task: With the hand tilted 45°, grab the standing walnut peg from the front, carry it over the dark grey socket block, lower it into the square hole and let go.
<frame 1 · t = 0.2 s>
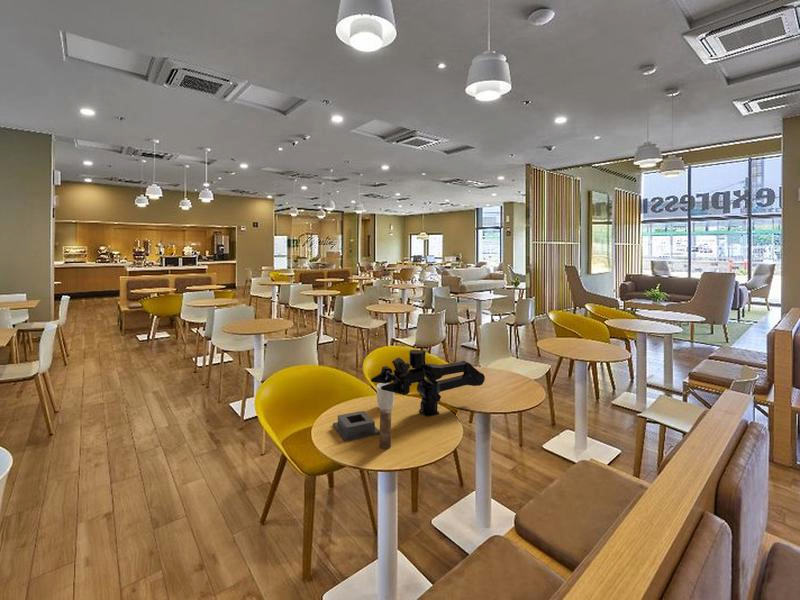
hand: (375, 384, 161), 17 cm above the table, tool horizontal, fingers open, 9 cm apart
peg: (385, 446, 147), on the table
socket: (355, 429, 159), on the table
white cup: (385, 408, 179), on the table
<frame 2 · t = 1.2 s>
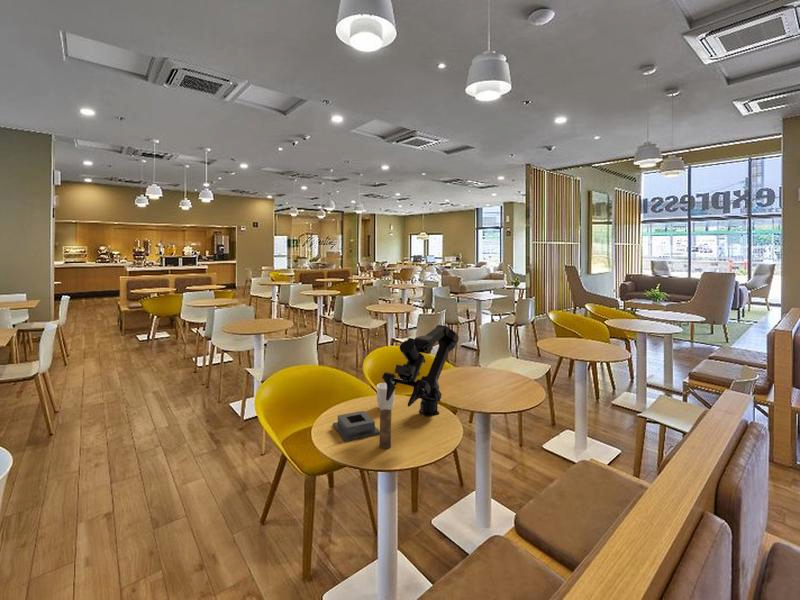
hand: (397, 403, 151), 13 cm above the table, tool tilted 45°, fingers open, 9 cm apart
nothing on the table moved.
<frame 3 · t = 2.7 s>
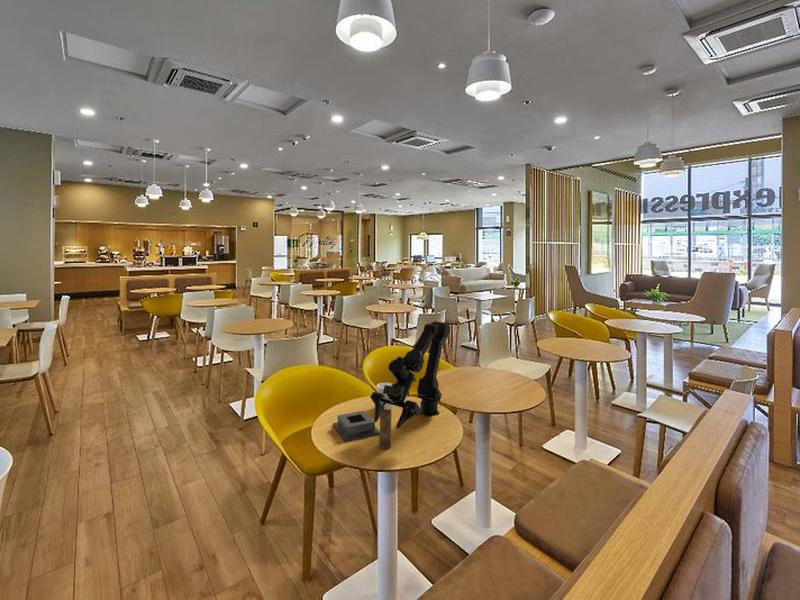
hand: (385, 425, 146), 8 cm above the table, tool tilted 45°, fingers open, 9 cm apart
nothing on the table moved.
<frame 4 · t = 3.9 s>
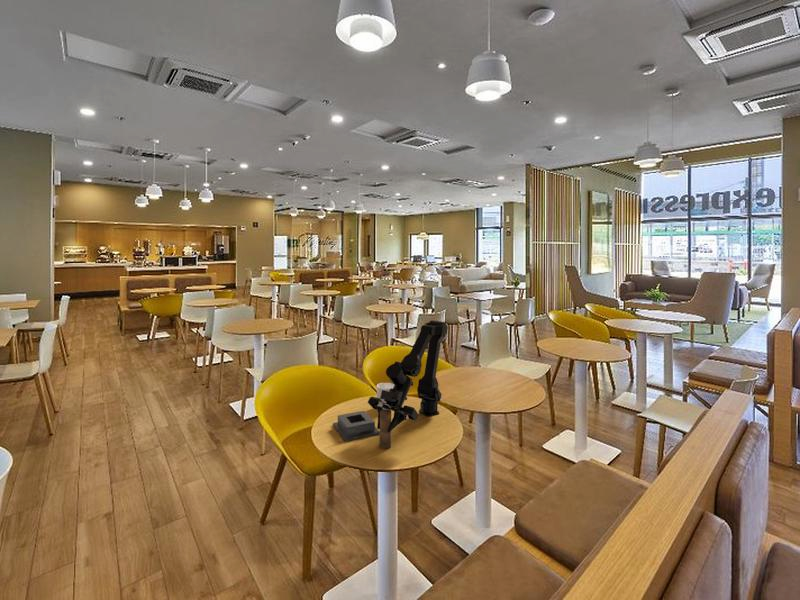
hand: (383, 430, 144), 7 cm above the table, tool tilted 45°, fingers closed on peg, 4 cm apart
peg: (385, 446, 147), on the table, touching gripper
everything else where it was.
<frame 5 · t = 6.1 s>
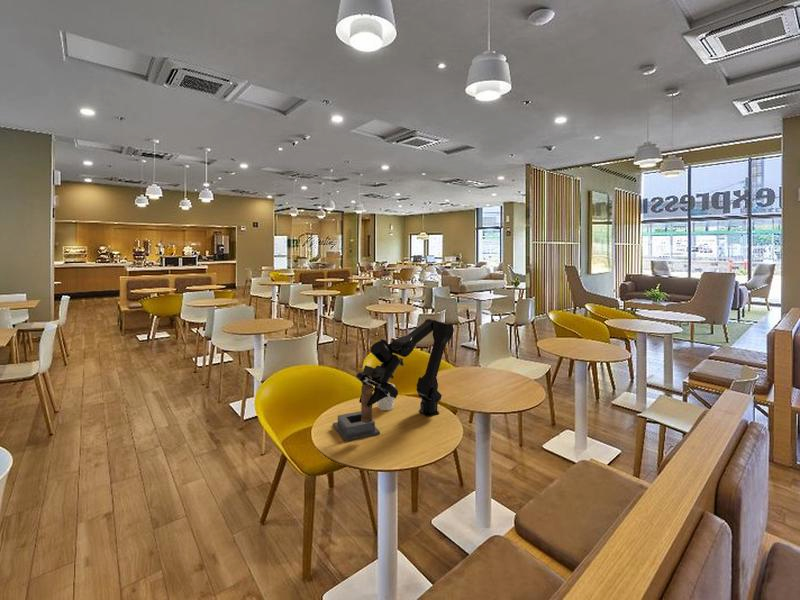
hand: (363, 404, 149), 14 cm above the table, tool tilted 45°, fingers closed on peg, 4 cm apart
peg: (366, 420, 151), point 7 cm above the table, touching gripper
everything else where it was.
when the fingers open (9 cm above the table, at t = 8.2 s): peg drops 1 cm, resting on socket.
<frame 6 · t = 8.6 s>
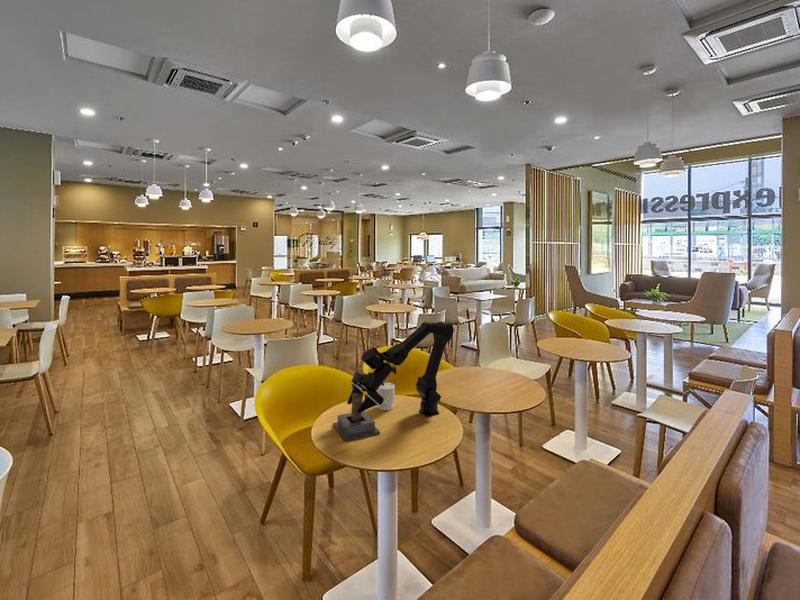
hand: (352, 408, 156), 9 cm above the table, tool tilted 45°, fingers open, 9 cm apart
peg: (355, 427, 158), point 1 cm above the table, touching socket
everything else where it was.
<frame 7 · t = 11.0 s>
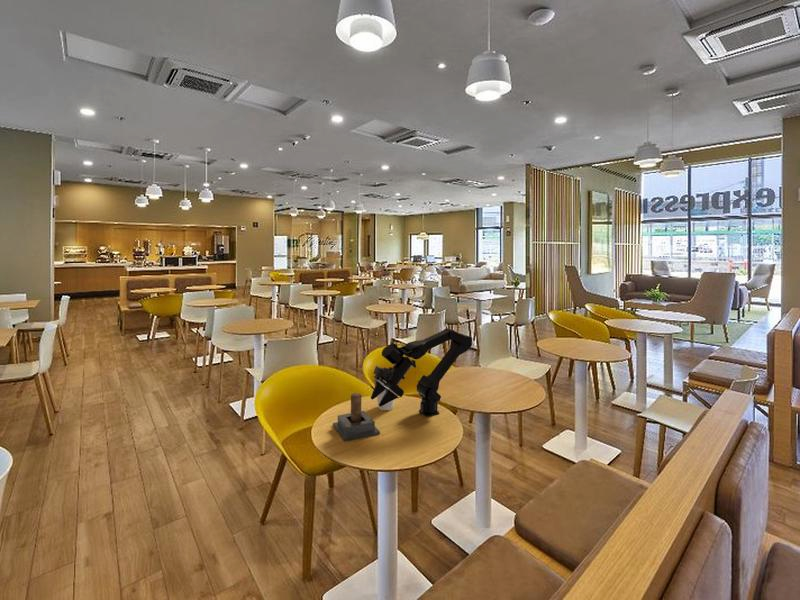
hand: (375, 402, 162), 9 cm above the table, tool tilted 40°, fingers open, 9 cm apart
nothing on the table moved.
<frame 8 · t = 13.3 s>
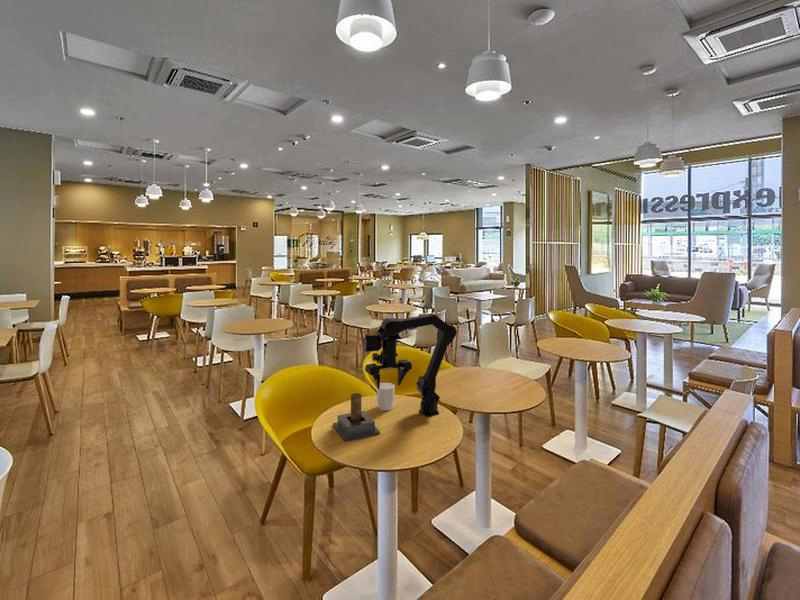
hand: (388, 387, 168), 13 cm above the table, tool pointing down, fingers open, 9 cm apart
nothing on the table moved.
at the end: peg 0.0 cm off-centre on the socket, point 1.0 cm above the socket's base; peg tilted 0°; the gripper is holding nothing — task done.
